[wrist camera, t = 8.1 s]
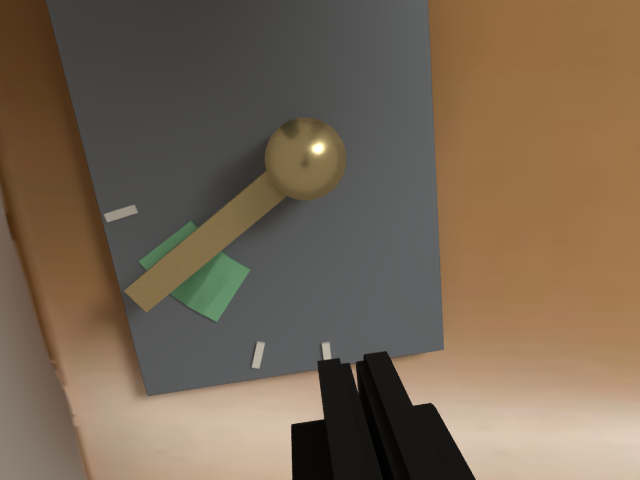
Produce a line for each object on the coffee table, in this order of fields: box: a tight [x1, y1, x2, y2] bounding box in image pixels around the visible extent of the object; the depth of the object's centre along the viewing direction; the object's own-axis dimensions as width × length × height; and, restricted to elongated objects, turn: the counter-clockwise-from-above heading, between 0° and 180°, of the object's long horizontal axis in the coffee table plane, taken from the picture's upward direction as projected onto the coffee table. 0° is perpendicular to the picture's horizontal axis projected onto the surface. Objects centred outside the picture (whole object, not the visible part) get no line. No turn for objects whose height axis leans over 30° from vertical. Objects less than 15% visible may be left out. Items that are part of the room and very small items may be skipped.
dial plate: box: [46, 0, 444, 396], centre depth 25 cm, size 24×20×2 cm
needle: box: [124, 117, 346, 313], centre depth 22 cm, size 14×4×4 cm, turn 129°
